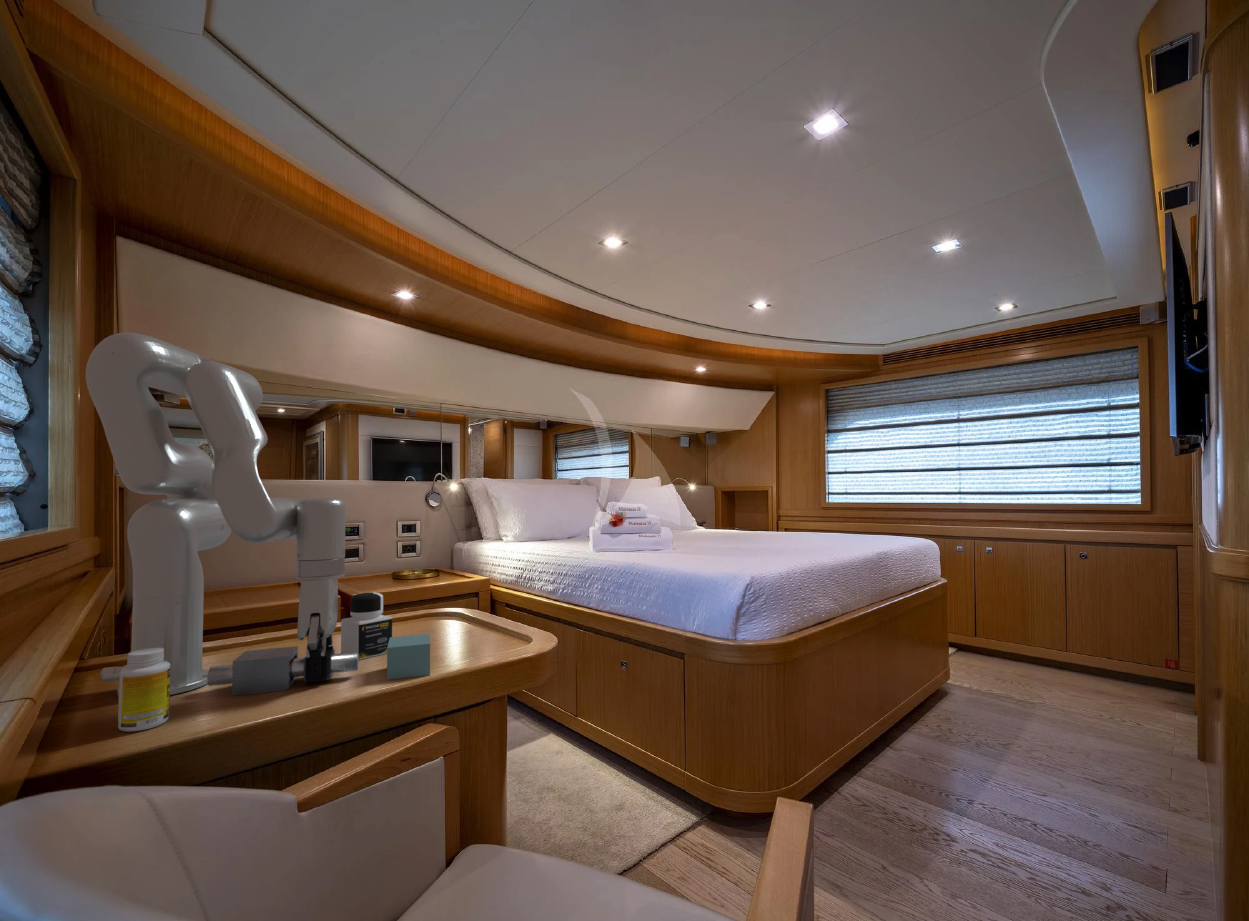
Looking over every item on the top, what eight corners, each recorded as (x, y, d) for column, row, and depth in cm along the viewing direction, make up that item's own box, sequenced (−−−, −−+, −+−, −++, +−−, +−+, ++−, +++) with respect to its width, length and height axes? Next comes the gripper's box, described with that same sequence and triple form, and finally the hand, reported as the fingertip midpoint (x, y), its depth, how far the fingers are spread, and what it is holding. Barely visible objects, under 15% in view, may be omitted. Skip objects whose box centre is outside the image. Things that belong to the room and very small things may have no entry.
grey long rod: (205, 693, 93) (206, 667, 93) (214, 684, 97) (215, 660, 97) (356, 676, 100) (356, 653, 100) (359, 669, 104) (359, 646, 104)
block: (387, 679, 100) (387, 647, 100) (389, 667, 107) (389, 637, 108) (430, 675, 102) (430, 643, 102) (429, 663, 110) (429, 633, 110)
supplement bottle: (175, 723, 82) (177, 649, 83) (124, 737, 78) (127, 658, 78) (161, 715, 85) (163, 644, 86) (112, 727, 81) (114, 652, 81)
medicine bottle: (358, 660, 112) (359, 597, 113) (340, 655, 116) (340, 594, 117) (392, 652, 118) (393, 592, 119) (373, 647, 122) (374, 589, 123)
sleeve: (231, 696, 93) (232, 661, 93) (244, 683, 100) (245, 650, 100) (288, 690, 96) (289, 656, 96) (297, 677, 102) (298, 646, 102)
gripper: (306, 565, 108) (304, 664, 107) (285, 576, 92) (283, 693, 91) (350, 562, 111) (349, 659, 110) (337, 573, 94) (336, 687, 93)
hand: (319, 674), depth 100 cm, fingers open, 5 cm apart
